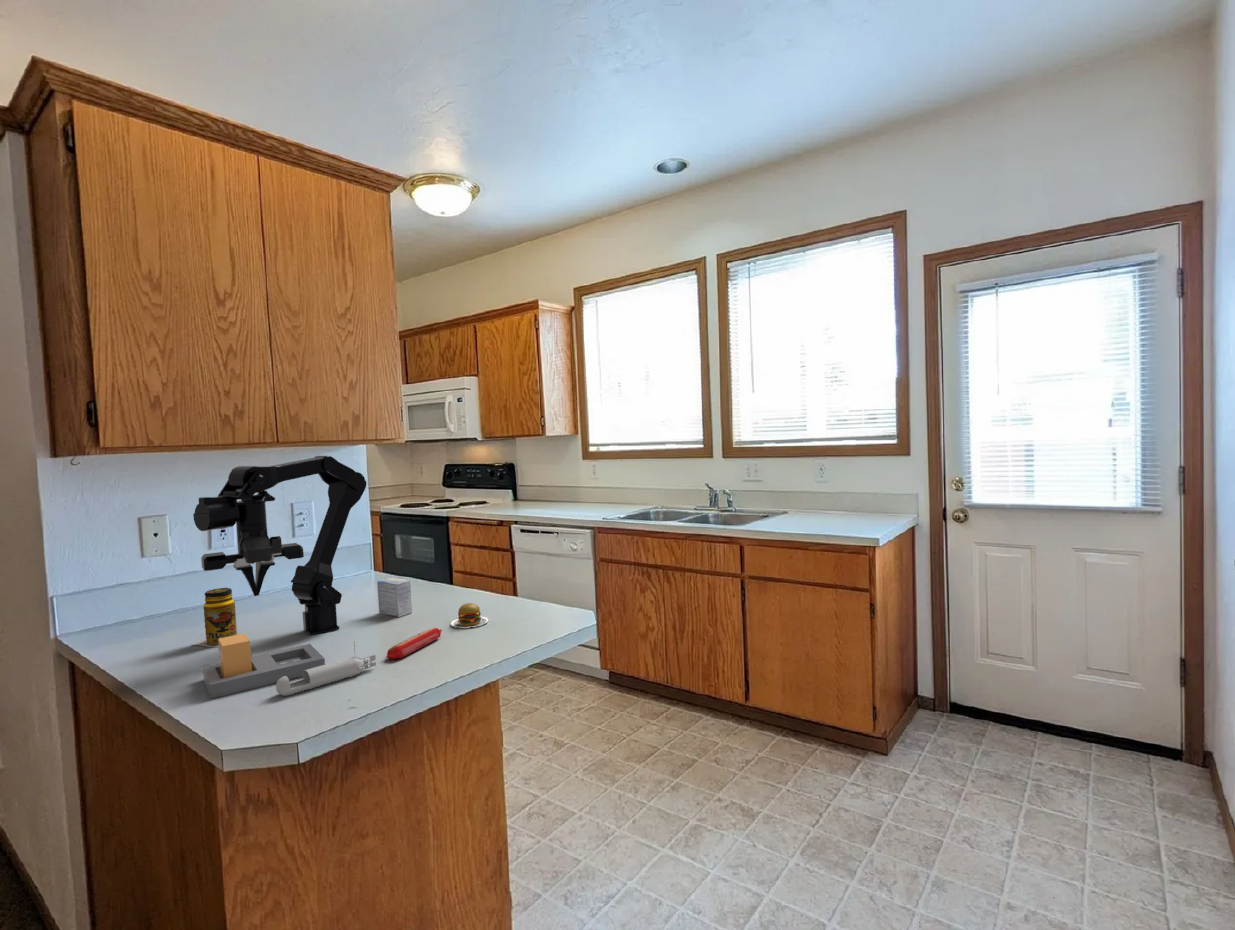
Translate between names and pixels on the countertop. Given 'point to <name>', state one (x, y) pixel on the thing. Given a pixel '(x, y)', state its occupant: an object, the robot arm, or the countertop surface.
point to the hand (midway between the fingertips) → (256, 595)
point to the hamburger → (469, 616)
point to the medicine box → (394, 597)
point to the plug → (234, 655)
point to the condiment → (218, 616)
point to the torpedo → (324, 674)
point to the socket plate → (263, 670)
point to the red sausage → (413, 643)
